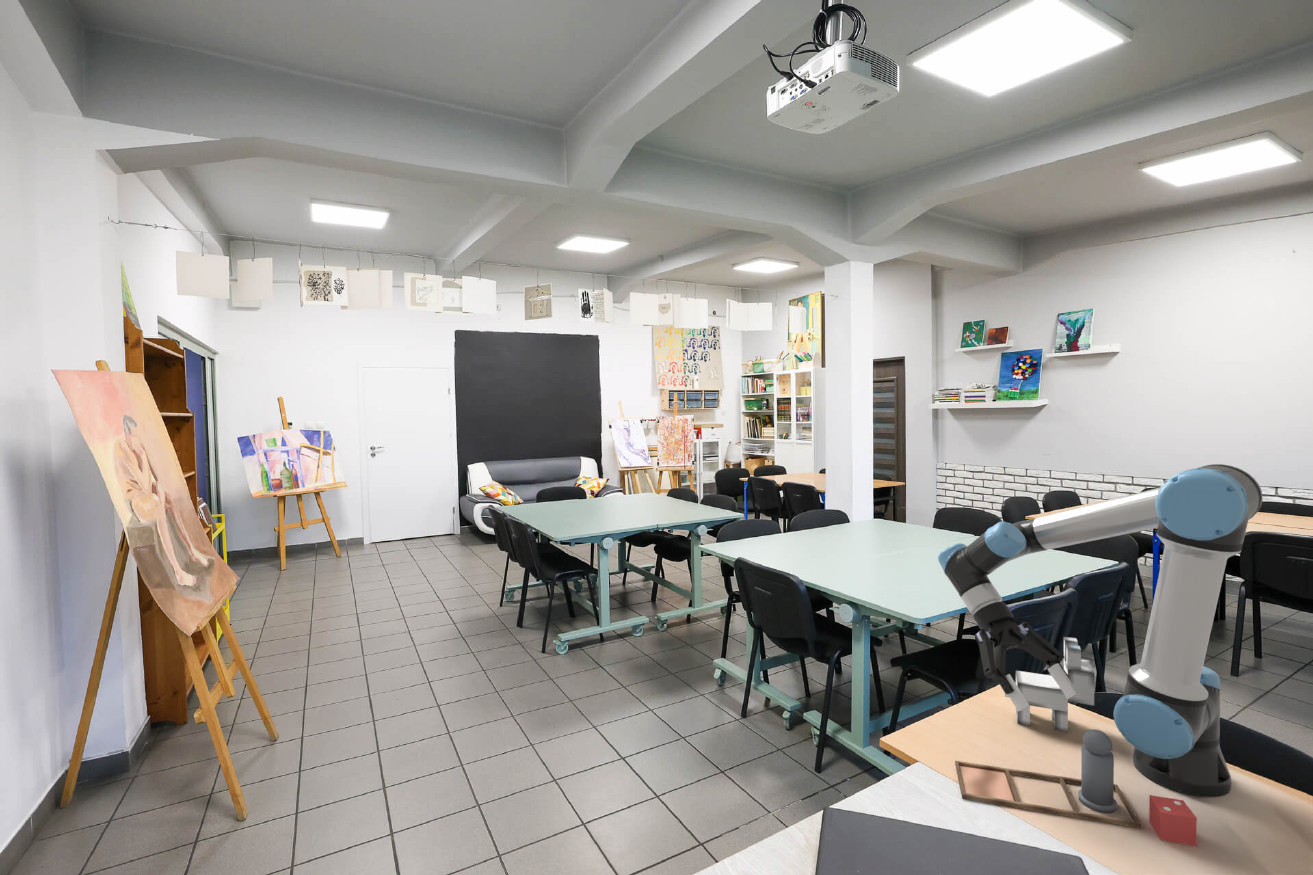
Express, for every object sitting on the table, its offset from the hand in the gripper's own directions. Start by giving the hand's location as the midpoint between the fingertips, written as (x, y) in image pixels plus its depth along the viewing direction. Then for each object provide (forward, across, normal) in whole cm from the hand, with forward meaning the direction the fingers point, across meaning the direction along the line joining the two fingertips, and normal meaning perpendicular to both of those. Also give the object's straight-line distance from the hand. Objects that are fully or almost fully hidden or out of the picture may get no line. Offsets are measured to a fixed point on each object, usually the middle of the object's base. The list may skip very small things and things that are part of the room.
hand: (1049, 702), depth 126 cm
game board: (+13, +7, -8) cm, 17 cm away
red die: (+25, -4, +4) cm, 26 cm away
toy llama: (0, -18, -22) cm, 29 cm away
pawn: (+18, 0, -4) cm, 18 cm away
